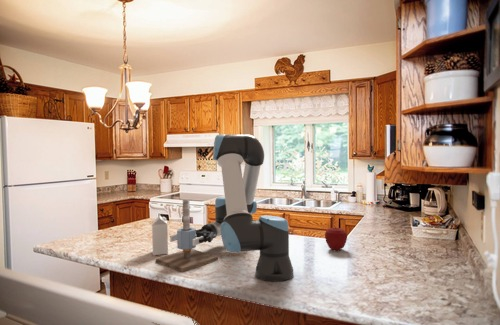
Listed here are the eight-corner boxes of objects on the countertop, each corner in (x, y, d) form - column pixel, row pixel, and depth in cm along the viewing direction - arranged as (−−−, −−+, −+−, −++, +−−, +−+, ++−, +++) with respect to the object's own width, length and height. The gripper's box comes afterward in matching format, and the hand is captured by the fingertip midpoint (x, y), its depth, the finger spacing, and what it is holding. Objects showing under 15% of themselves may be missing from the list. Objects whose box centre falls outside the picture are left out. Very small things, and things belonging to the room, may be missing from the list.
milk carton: (152, 255, 155) (152, 216, 155) (153, 251, 162) (152, 214, 162) (167, 254, 157) (167, 215, 157) (167, 250, 164) (166, 213, 164)
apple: (348, 253, 155) (348, 229, 154) (325, 252, 157) (325, 228, 157) (346, 247, 165) (346, 224, 165) (324, 246, 168) (324, 224, 167)
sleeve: (199, 246, 147) (199, 229, 147) (185, 250, 141) (184, 232, 141) (188, 243, 153) (188, 226, 153) (174, 247, 147) (174, 229, 147)
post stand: (218, 259, 148) (217, 199, 147) (182, 271, 133) (181, 204, 132) (190, 251, 161) (189, 195, 161) (155, 261, 146) (154, 200, 146)
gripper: (231, 241, 156) (203, 253, 138) (192, 235, 169) (162, 245, 151) (231, 226, 156) (203, 235, 138) (192, 221, 169) (161, 229, 151)
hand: (181, 240), depth 144 cm, fingers open, 13 cm apart
